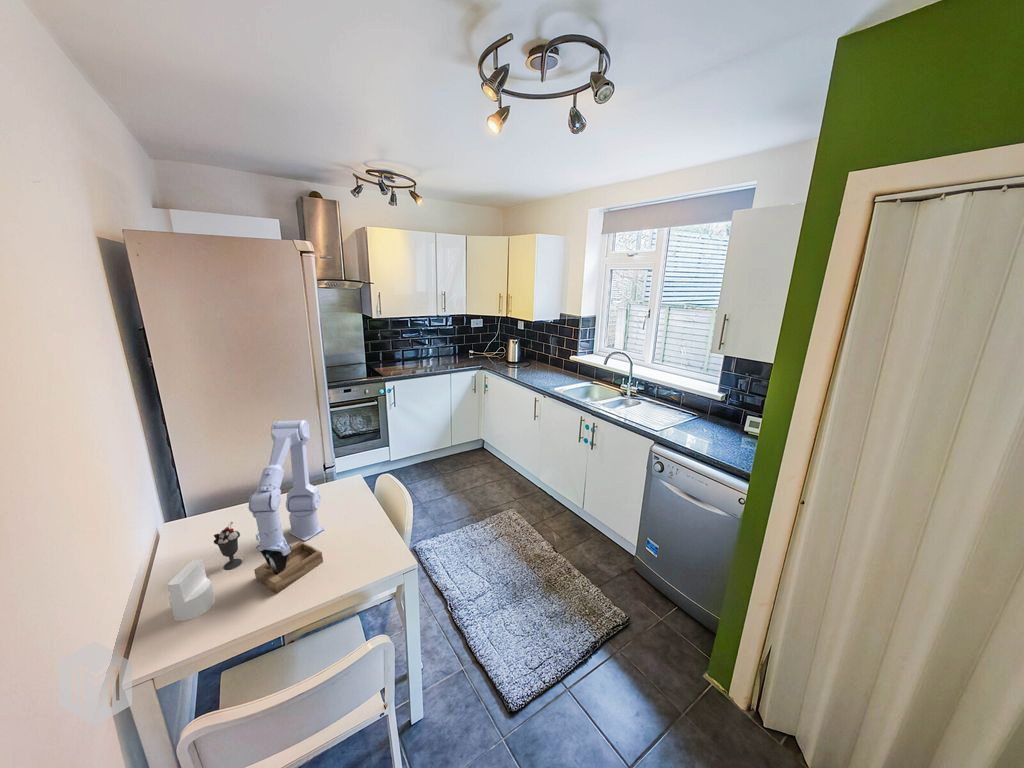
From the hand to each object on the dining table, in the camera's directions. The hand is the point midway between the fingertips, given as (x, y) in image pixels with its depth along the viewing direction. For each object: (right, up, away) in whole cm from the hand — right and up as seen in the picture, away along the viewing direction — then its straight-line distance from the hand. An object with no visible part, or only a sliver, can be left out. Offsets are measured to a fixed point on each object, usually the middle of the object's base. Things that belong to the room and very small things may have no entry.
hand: (277, 566), depth 115 cm
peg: (+1, -2, 0) cm, 2 cm away
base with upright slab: (-17, -7, -9) cm, 21 cm away
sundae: (-19, -3, +7) cm, 20 cm away
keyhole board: (+2, -4, +4) cm, 6 cm away
